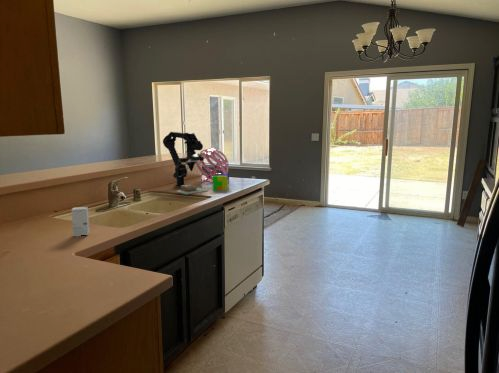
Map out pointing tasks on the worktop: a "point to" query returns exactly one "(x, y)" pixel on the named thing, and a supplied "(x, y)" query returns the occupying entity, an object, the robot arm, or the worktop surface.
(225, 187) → the puzzle toy
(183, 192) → the mat
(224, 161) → the spiral basket
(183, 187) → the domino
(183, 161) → the robot arm
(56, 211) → the worktop surface
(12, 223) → the worktop surface
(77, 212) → the skincare box
